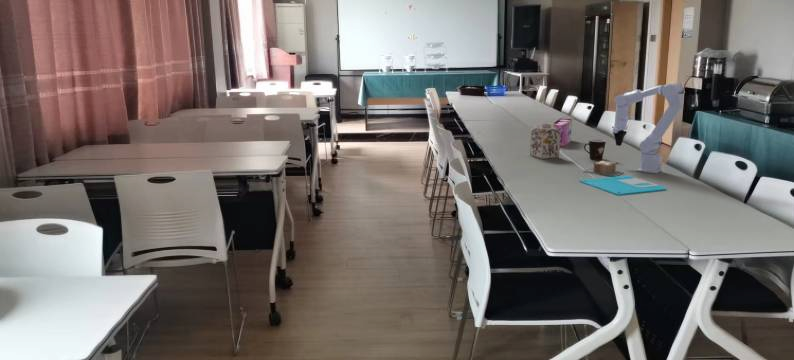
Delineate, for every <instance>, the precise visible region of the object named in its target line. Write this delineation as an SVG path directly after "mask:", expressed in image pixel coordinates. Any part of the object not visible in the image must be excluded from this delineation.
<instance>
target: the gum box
mask: <svg viewBox="0 0 794 360" xmlns="http://www.w3.org/2000/svg"><path fill="white" fill-rule="evenodd" d="M572 126H573V119H572V118H559V119H557V120H556V121H554V122H553V126H552V127H555V128H557V129H558V130H559V132H560V134H561V135H560V147H565V146H567V145H568V144H569V143H570V142H571V141H572V128H573V127H572Z"/></svg>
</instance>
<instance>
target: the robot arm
mask: <svg viewBox="0 0 794 360" xmlns="http://www.w3.org/2000/svg"><path fill="white" fill-rule="evenodd" d="M685 93H686V91H685V88H684V86H683V85H682V84H681V83H679V82H675V83H667V84H660V85H657V86H653V87H651V88H647V89H646V90H641V89H637V88H635V89H633V91H630V92H628V91H627V92H624V94H618V95H617V96H615V97H614V102H613V103H614V104H615V116H614V126H611V128H612V134H613V136H614V140H615V145H616V146H619V147H621V146H622V144H623V141H624V138H625V136H626V135H627V132H628V131H627V130H628V114H629V113H628V112H629V106H630V105H631V104H635V103H639V102H642V101H643V100H644V99H645V98H647V97H650V96H655V95H658V94H659V95H661V96H663V97H664V99H665V100H666V102H667V103H668V107H667V108H666V110H665V111H664V113H663V114H662V116H661V117H660V120H659V121H658V123H657V124H656V125H655V126H654V128H653V130H652V132H651V133H650V134H649V135H647V137H645V139H644V140H642V141H641V142H640V143H639V150H640V152H641V153H640V162H639V163H640V165H639V168H638V169H636V172H637V171H638V172H645V173H650V174H658V173H660V172H662V165H663V164H662V163H663V155H662V154H661V153H658V151H659V150H660V148H661V144H662V142H663V137H664V136H665V133H666V132H667V130H668V129H669V128H670V126H671V125H672V123H673V121H674V120H675V119H676V117H677V115H678V114H679V113H680V111H681V110H682V108H683V104H684V95H685Z"/></svg>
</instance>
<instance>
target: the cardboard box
mask: <svg viewBox="0 0 794 360" xmlns="http://www.w3.org/2000/svg"><path fill="white" fill-rule="evenodd" d="M593 168H594V171H593V172H598V173H605V174H609V173H611V172H613V171H617V170H616V169H617V162H616V161H609V160H599V161H598V162H594V163H593Z"/></svg>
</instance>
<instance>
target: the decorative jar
mask: <svg viewBox="0 0 794 360" xmlns="http://www.w3.org/2000/svg"><path fill="white" fill-rule="evenodd" d="M560 135H561V134H560V132H559V130H558V129H557V128H555V127H553V126H552V124H551V123H550V122H549V123H547V122H545V123H541V125H540V126H538V125H537V126H535V127H533V129H532V130H531V132H530V142H529V143H530V144H529V156H531V157H535V158H537V159H540V160H544V159H545V160H546V159H554V158H555V159H556V158H560V150H561V146H560Z"/></svg>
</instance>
